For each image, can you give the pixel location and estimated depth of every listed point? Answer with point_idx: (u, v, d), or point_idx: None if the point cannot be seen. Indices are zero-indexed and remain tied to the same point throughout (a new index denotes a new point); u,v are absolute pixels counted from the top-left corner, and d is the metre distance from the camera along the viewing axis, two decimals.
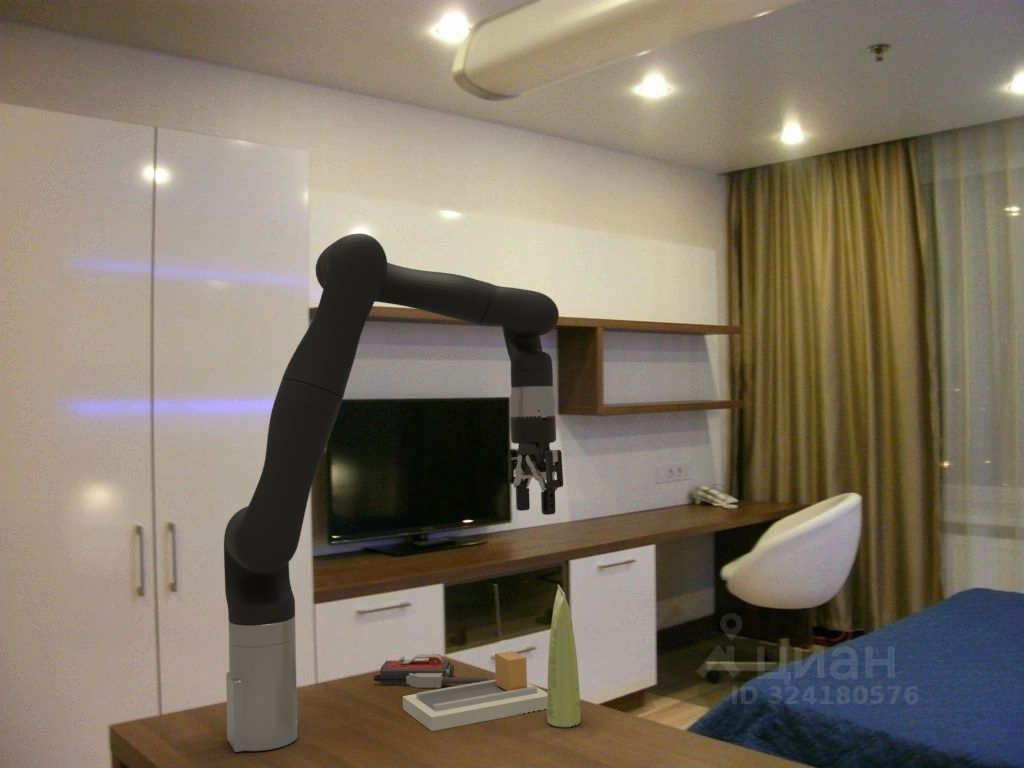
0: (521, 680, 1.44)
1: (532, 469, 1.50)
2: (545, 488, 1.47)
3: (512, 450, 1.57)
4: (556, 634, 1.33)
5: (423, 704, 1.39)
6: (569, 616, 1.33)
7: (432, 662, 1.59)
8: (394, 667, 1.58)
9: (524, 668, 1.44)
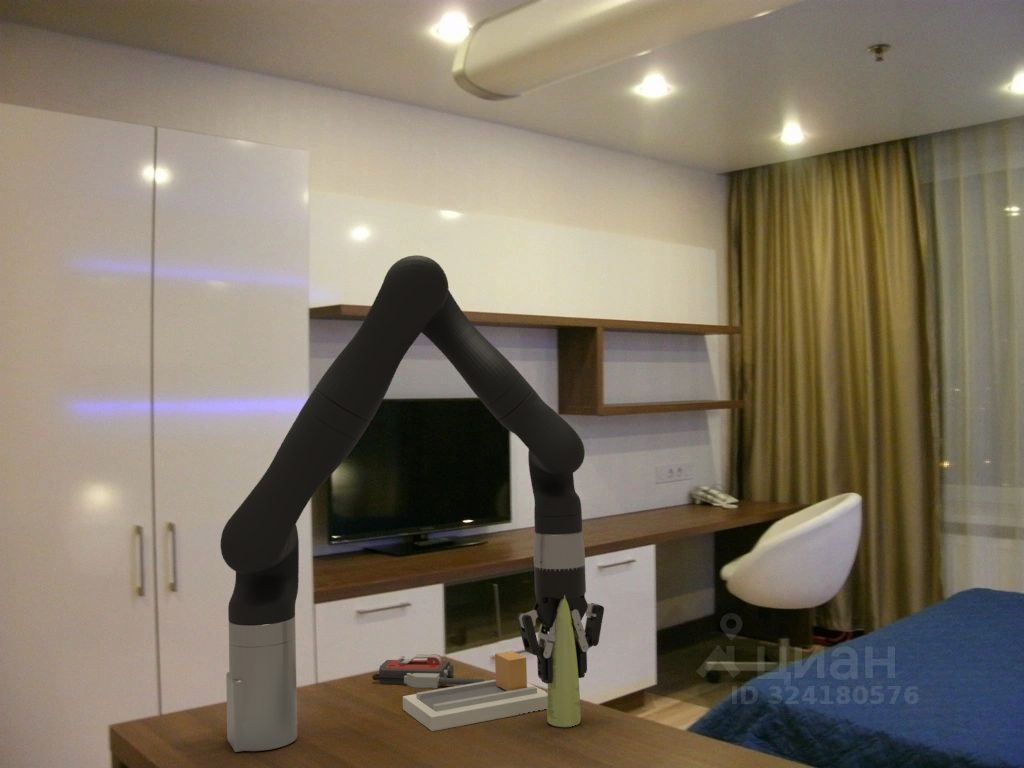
0: (521, 680, 1.44)
1: (577, 626, 1.35)
2: (587, 648, 1.36)
3: (529, 615, 1.32)
4: (556, 634, 1.33)
5: (423, 704, 1.39)
6: (569, 616, 1.33)
7: (430, 662, 1.59)
8: (393, 666, 1.59)
9: (524, 668, 1.44)
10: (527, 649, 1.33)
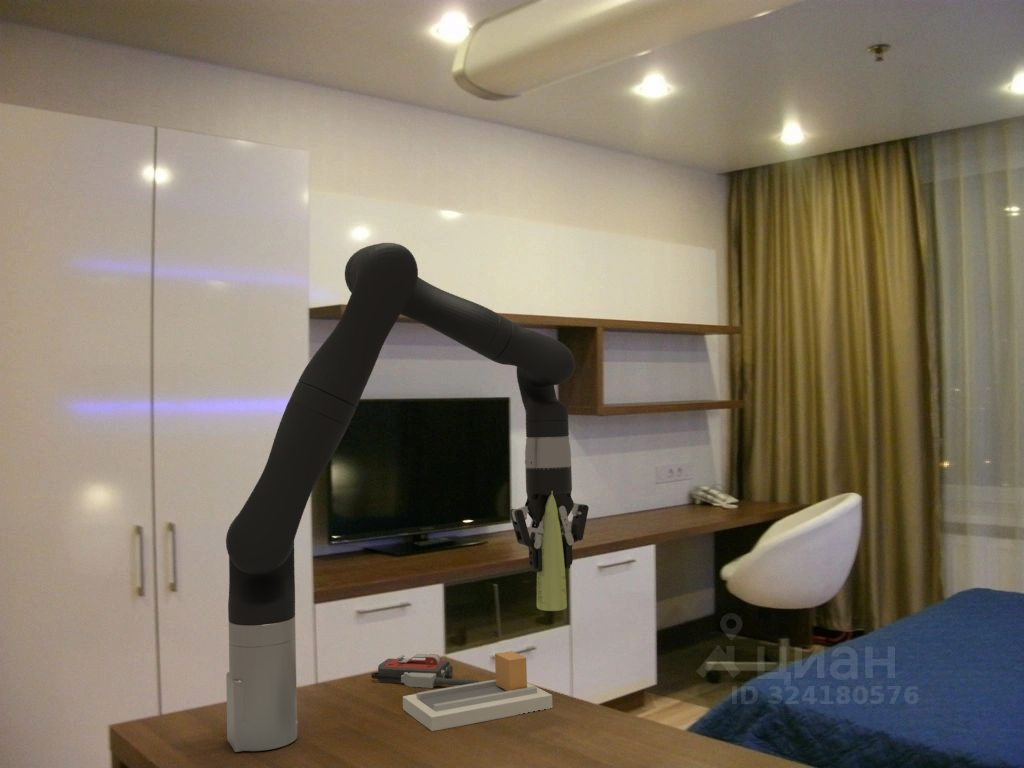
0: (521, 680, 1.44)
1: (564, 521, 1.49)
2: None
3: (520, 510, 1.47)
4: (544, 527, 1.47)
5: (423, 704, 1.39)
6: (556, 511, 1.47)
7: (428, 662, 1.59)
8: (391, 665, 1.60)
9: (524, 668, 1.44)
10: (519, 541, 1.48)
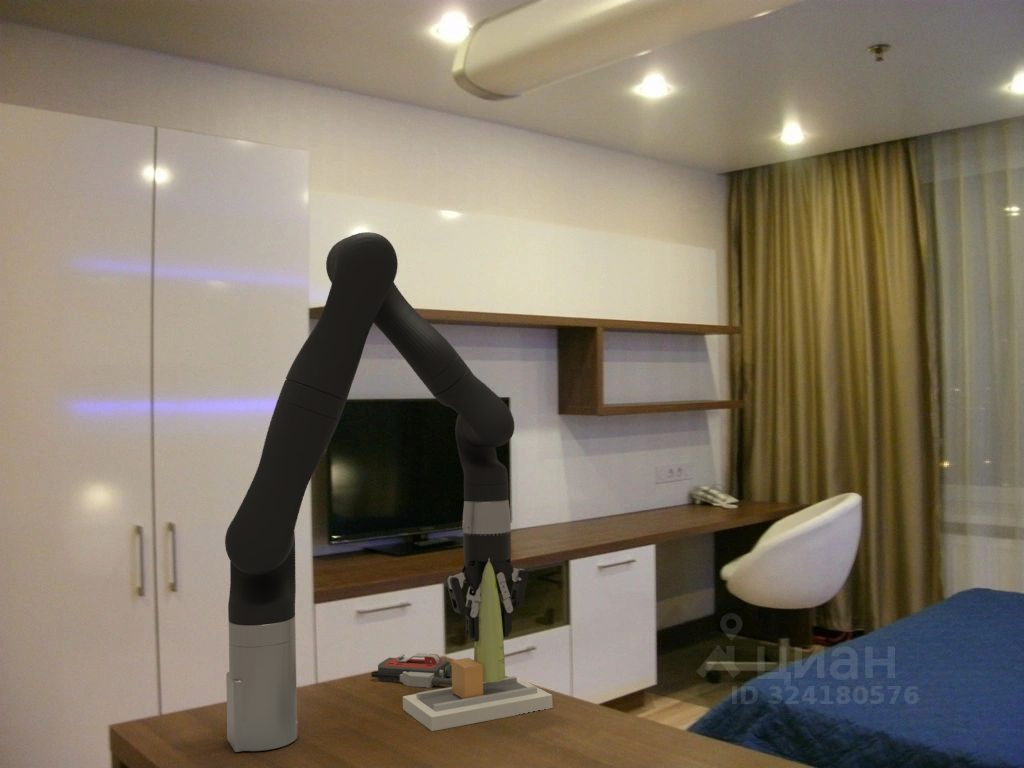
0: (477, 688, 1.40)
1: (502, 588, 1.44)
2: None
3: (456, 577, 1.41)
4: (481, 596, 1.42)
5: (423, 704, 1.39)
6: (493, 579, 1.42)
7: (427, 662, 1.59)
8: (391, 664, 1.60)
9: (480, 675, 1.40)
10: (455, 609, 1.42)
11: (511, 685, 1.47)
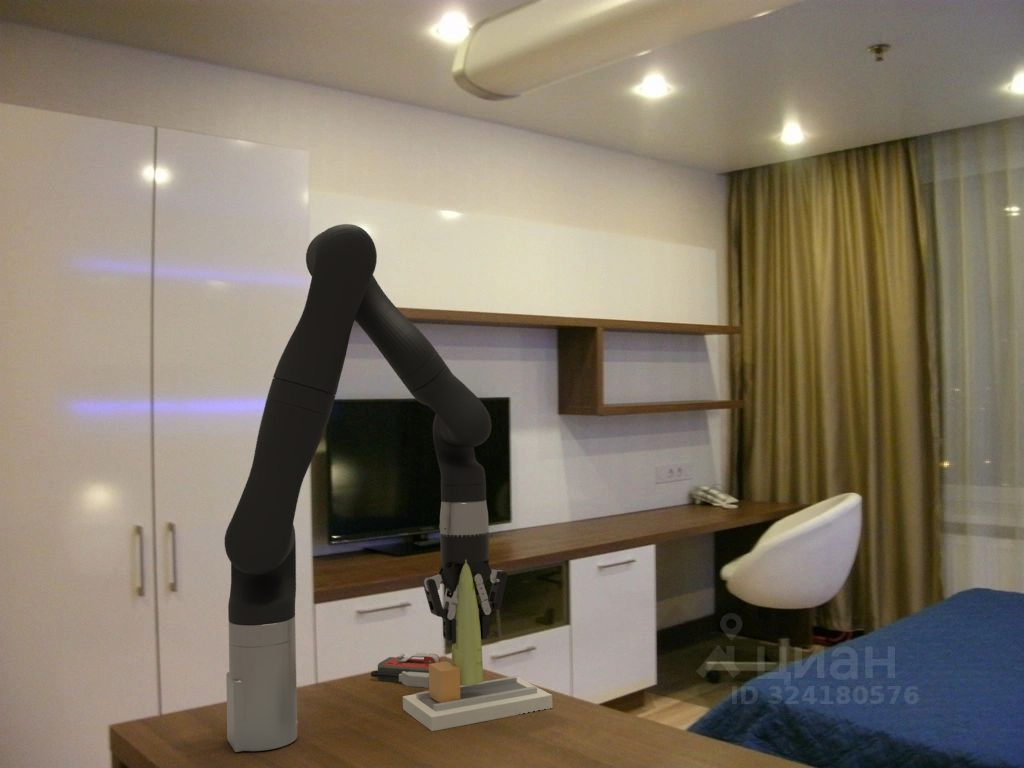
0: (454, 692, 1.38)
1: (480, 590, 1.42)
2: None
3: (432, 579, 1.39)
4: (458, 598, 1.40)
5: (423, 704, 1.39)
6: (470, 580, 1.40)
7: (427, 661, 1.59)
8: (391, 664, 1.61)
9: (457, 679, 1.39)
10: (432, 611, 1.40)
11: (511, 685, 1.47)
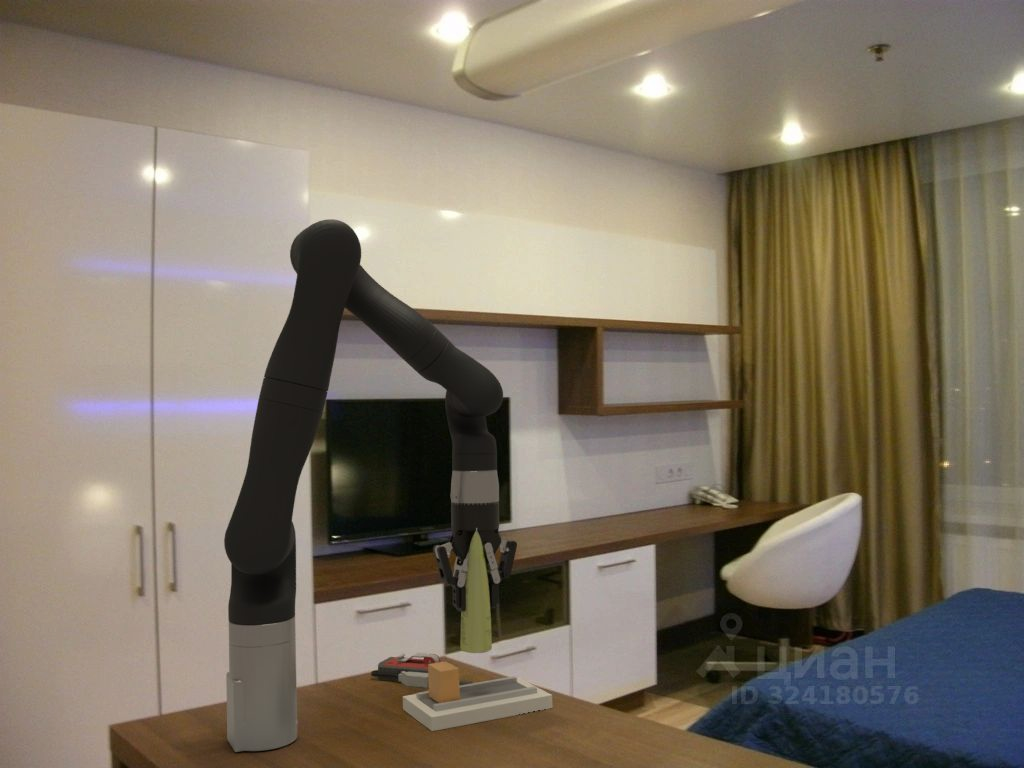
0: (454, 692, 1.38)
1: (490, 558, 1.43)
2: (499, 580, 1.44)
3: (443, 547, 1.41)
4: (469, 566, 1.41)
5: (423, 704, 1.39)
6: (481, 549, 1.41)
7: (427, 662, 1.59)
8: (391, 664, 1.61)
9: (457, 679, 1.39)
10: (442, 579, 1.42)
11: (511, 685, 1.47)
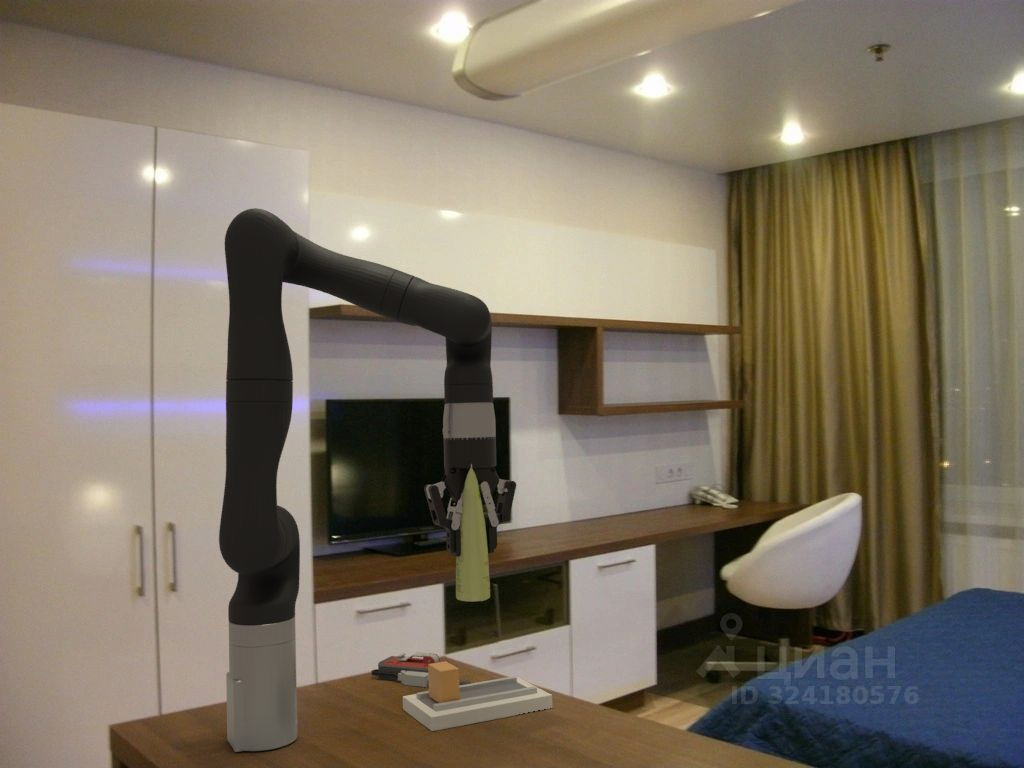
0: (454, 692, 1.38)
1: (487, 499, 1.31)
2: (497, 523, 1.32)
3: (435, 485, 1.29)
4: (463, 506, 1.29)
5: (423, 704, 1.39)
6: (476, 487, 1.29)
7: (426, 661, 1.60)
8: (391, 663, 1.61)
9: (457, 679, 1.39)
10: (435, 521, 1.30)
11: (511, 685, 1.47)
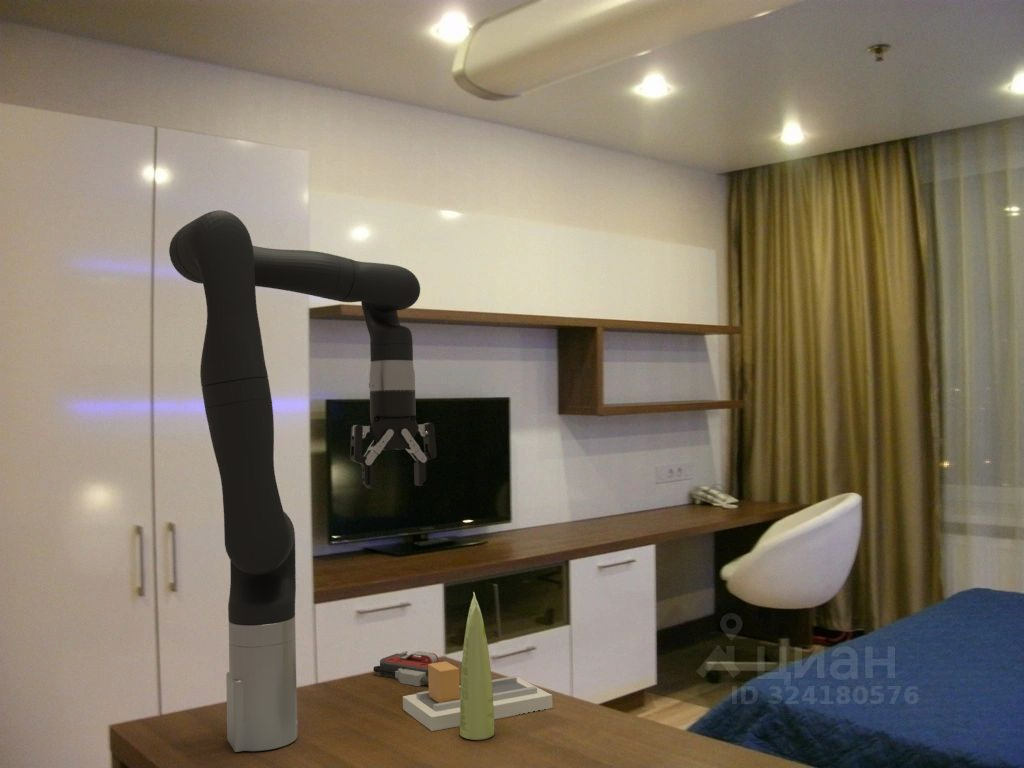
0: (454, 692, 1.38)
1: (410, 442, 1.52)
2: None
3: (361, 426, 1.49)
4: (468, 644, 1.29)
5: (423, 704, 1.39)
6: (481, 625, 1.28)
7: (424, 660, 1.60)
8: (392, 660, 1.63)
9: (457, 679, 1.39)
10: (351, 457, 1.49)
11: (511, 685, 1.47)
